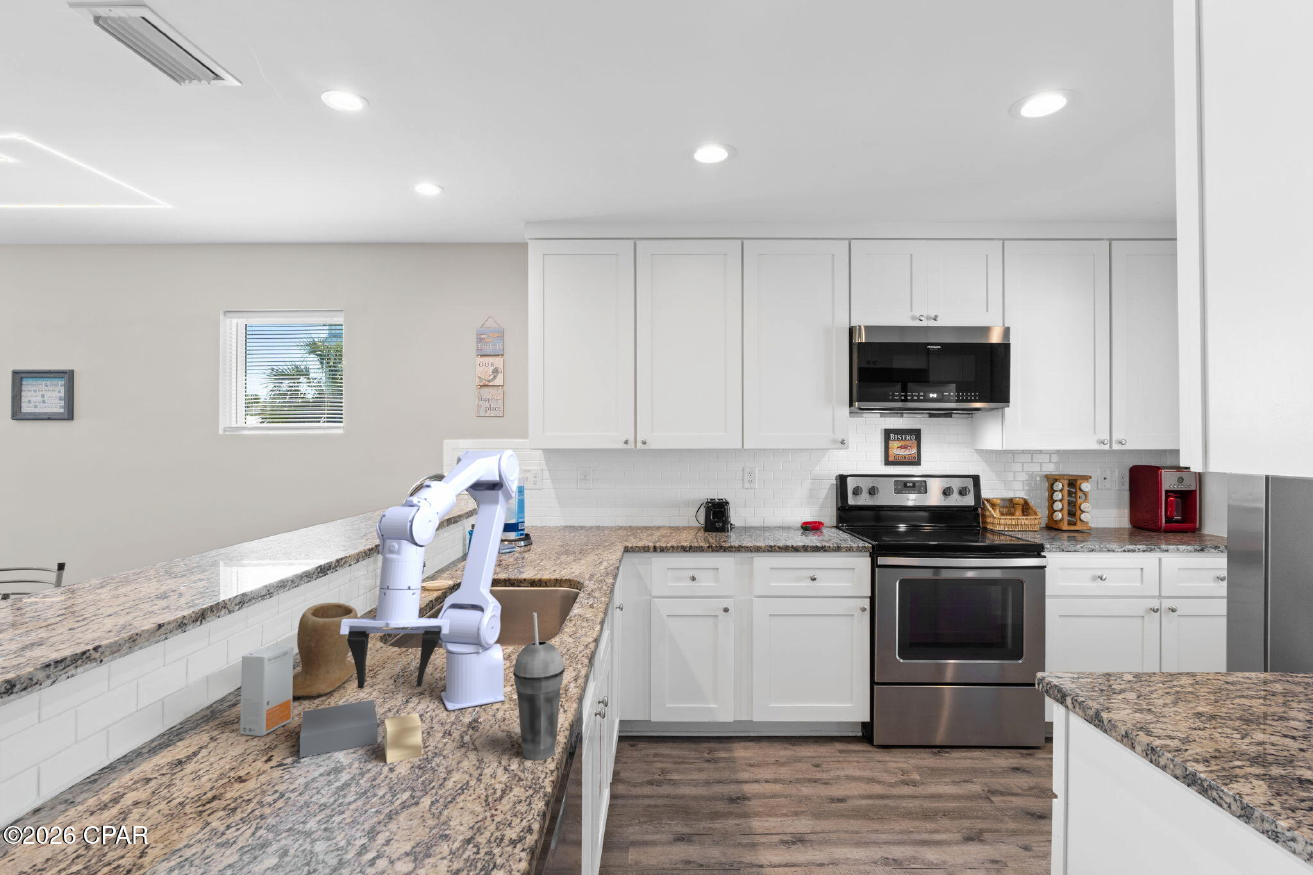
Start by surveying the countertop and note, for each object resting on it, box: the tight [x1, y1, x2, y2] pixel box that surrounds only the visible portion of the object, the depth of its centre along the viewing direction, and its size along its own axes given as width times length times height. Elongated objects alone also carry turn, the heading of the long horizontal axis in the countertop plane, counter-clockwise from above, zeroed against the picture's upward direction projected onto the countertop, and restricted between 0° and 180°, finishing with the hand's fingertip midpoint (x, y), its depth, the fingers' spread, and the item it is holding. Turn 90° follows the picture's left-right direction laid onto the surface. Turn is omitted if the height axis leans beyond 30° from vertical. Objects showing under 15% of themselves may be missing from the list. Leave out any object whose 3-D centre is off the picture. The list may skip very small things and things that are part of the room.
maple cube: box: [384, 712, 423, 764], centre depth 90 cm, size 4×4×4 cm
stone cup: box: [292, 602, 359, 698], centre depth 117 cm, size 15×12×15 cm
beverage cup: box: [512, 612, 565, 761], centre depth 90 cm, size 7×7×20 cm
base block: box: [299, 699, 379, 759], centre depth 96 cm, size 10×10×3 cm
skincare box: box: [239, 644, 295, 737], centre depth 99 cm, size 6×4×12 cm
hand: (390, 686), depth 91 cm, fingers open, 7 cm apart
